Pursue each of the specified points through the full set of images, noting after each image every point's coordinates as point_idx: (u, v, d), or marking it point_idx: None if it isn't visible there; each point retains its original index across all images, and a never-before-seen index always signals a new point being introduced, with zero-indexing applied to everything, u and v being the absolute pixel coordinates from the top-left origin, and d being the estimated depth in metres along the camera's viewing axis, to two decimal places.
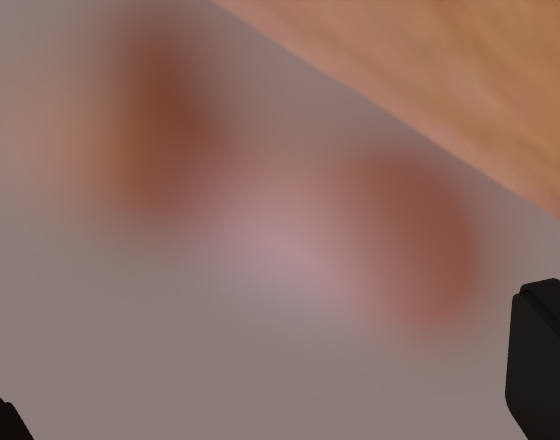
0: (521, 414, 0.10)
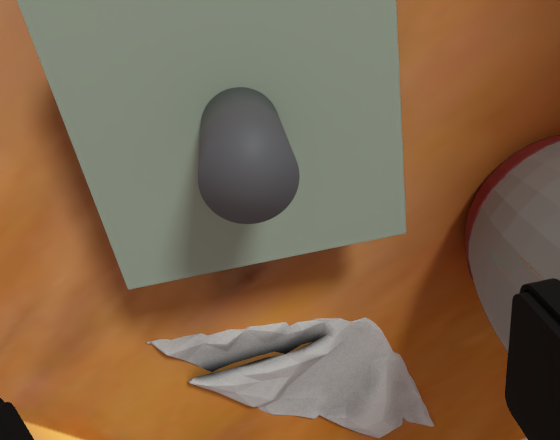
0: (521, 414, 0.10)
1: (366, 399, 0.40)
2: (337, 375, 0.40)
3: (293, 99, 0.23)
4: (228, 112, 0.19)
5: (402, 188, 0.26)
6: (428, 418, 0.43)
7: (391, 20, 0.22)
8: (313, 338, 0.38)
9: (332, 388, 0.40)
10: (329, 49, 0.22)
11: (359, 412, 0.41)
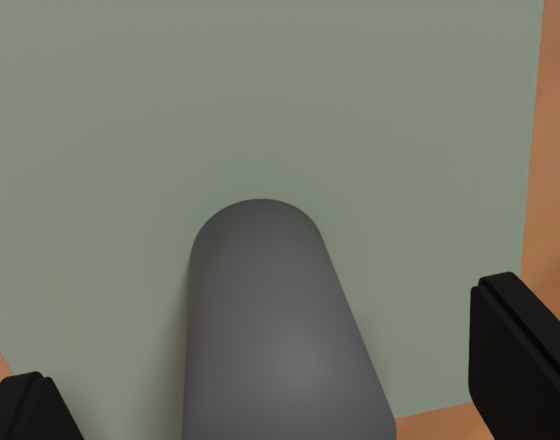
0: (482, 403, 0.10)
1: None
2: None
3: (349, 215, 0.13)
4: (243, 281, 0.10)
5: None
6: None
7: (527, 84, 0.12)
8: None
9: None
10: (416, 134, 0.13)
11: None
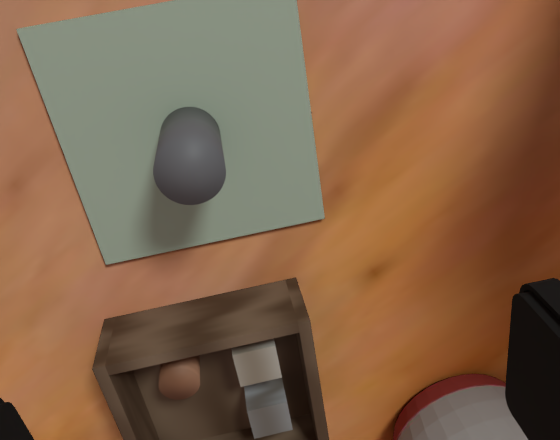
0: (521, 414, 0.10)
1: None
2: None
3: (230, 115, 0.31)
4: (176, 125, 0.27)
5: (318, 183, 0.33)
6: None
7: (299, 57, 0.30)
8: None
9: None
10: (255, 78, 0.30)
11: None
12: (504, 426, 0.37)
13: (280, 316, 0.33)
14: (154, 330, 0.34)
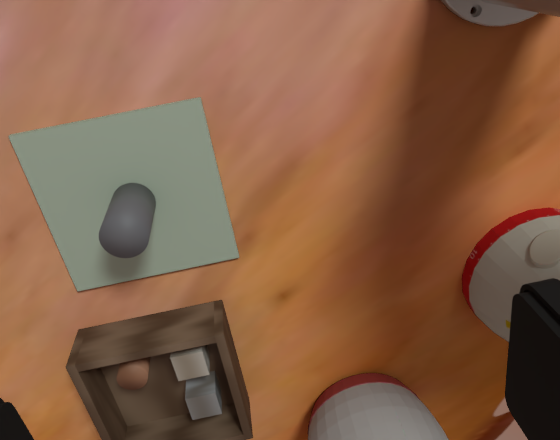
0: (521, 414, 0.10)
1: None
2: None
3: (162, 188, 0.43)
4: (118, 202, 0.39)
5: (232, 232, 0.45)
6: None
7: (209, 148, 0.42)
8: None
9: None
10: (178, 163, 0.42)
11: None
12: (378, 413, 0.49)
13: (203, 330, 0.46)
14: (112, 339, 0.47)
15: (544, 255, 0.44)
